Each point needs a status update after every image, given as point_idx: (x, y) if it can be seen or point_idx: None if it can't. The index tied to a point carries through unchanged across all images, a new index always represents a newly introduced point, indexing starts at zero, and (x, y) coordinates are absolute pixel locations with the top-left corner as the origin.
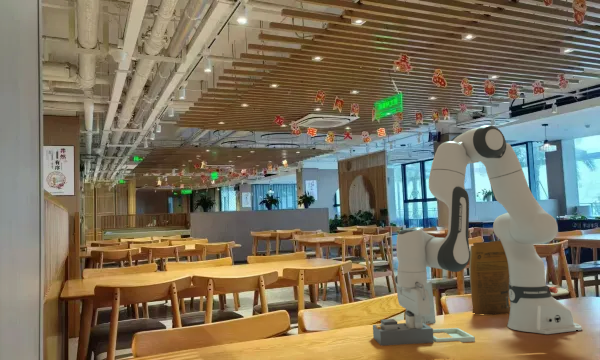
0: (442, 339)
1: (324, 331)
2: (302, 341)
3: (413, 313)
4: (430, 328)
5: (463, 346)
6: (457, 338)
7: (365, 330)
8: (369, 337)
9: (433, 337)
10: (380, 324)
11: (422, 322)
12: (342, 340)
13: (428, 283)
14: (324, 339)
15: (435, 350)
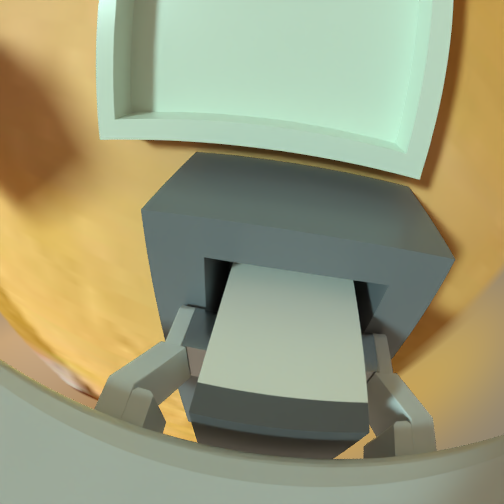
0: (430, 126)
1: (88, 381)
2: (181, 431)
3: (326, 458)
4: (437, 273)
5: (486, 31)
6: (450, 10)
7: (54, 314)
8: (146, 349)
9: (365, 165)
10: (185, 409)
11: (361, 339)
12: (180, 400)
13: None
14: (166, 412)
15: (473, 230)
